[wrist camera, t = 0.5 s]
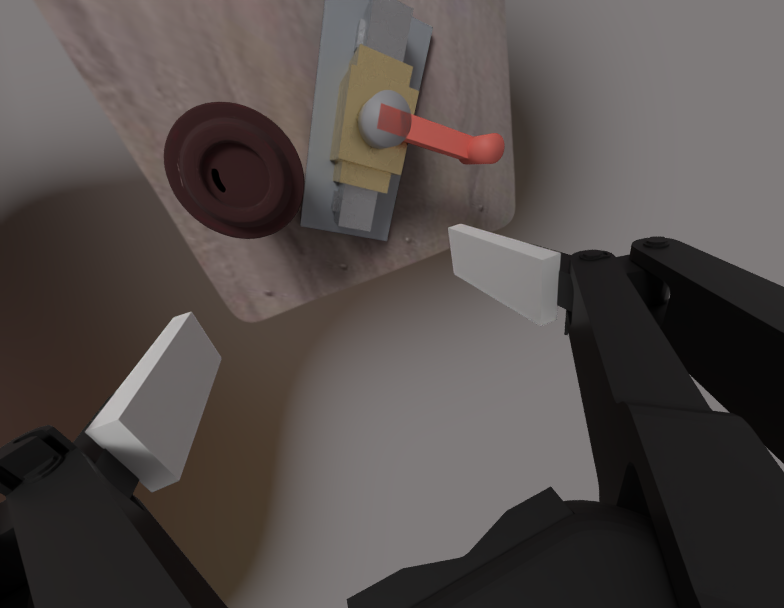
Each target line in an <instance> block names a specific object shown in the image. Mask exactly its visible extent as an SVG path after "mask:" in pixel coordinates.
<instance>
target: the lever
mask: <svg viewBox="0 0 784 608" xmlns="http://www.w3.org/2000/svg"><path fill="white" fill-rule="evenodd" d="M358 128H359V131H360V134H361V136H362V138H363V140H364V141H365V142H366V143H367V144H368V145H370V146H371V147H373V148H376V149H384V148H389V147H393V146H397V145H399V144H400V143H402V142H403V141H404V142H407V143H410V144H413V145H416V146H419V147H423V148H426V149H429V150H432V151H435V152H438V153H441V154H444V155H447V156H450V157H454V158H457V159H459V160H460V162H461V163H463V164H493V163H496V162H497V161H498V160H499V159H500V158H501V157H502V155H503V152H504V140H503V138H502V137H501V136H500V135H499V134H497V133H492V134H487V135H481V136H475V137H473V136H470V135H467V134H465V133H462V132H459V131H456V130H454V129H451V128H448V127H445V126H443V125H440V124H437V123H434V122H432V121H429V120H426V119H423V118H421V117H418V116H415V115H413V114H411V111H410V108H409V105H408V103H407V102H406V100H405V99H404V98H403V97H402V96H401V95H400V94H399V93H397V92H395V91H392V90H383V91H380V92H378V93H377V94H375V95H374V96H373V97H372V98H371V99H369V100H368V101H367V102H366V103H365V104H364V105H363V106H362V108H361V110H360V113H359V116H358Z"/></svg>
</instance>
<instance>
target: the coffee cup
mask: <svg viewBox="0 0 784 608" xmlns="http://www.w3.org/2000/svg"><path fill="white" fill-rule="evenodd" d="M164 165H165V171H166V175H167V178H168V181H169V184H170V186H171V188H172V190H173V192H174V194H175V196H176V197H177V199H178V200H179V202H180V203H181V204H182V206H183V207H184V208H185V209H186V210H187V211H188V212H189V213H190V214H191V215H192V216H193V217H194V218H195V219H196V220H198V221H199V222H200V223H202V224H203V225H205V226H206V227H208V228H210V229H212V230H214V231H216V232H218V233H221V234H223V235H227V236H230V237H235V238H242V239H254V238H261V237H265V236H268V235H271V234H273V233H276V232H277V231H279V230H281V229H282V228H283V227H285V226H286V225H287V224H288V223H289V222H290V221H291V220H292V219H293V218H294V216H295V215H296V213H297V212H298V210H299V207H300V205H301V202H302V199H303V194H304V173H303V168H302V164H301V161H300V158H299V156H298V153H297V151H296V149H295V147H294V146H293V144H292V143H291V141H290V140H289V138H288V137H287V136H286V135H285V133H284V132H283V131H282V130H281V129H280V128H279V127H278V126H277V125H276V124H275V123H274V122H273V121H271V120H270V119H269V118H267V117H266V116H264V115H263V114H261V113H259V112H258V111H256V110H253V109H251V108H249V107H246V106H243V105H240V104H236V103H230V102H211V103H205V104H202V105H199V106H196V107H194V108H192V109H190V110H188V111H187V112H186V113H184V114H183V115H182V116H181V117H180V118H179V119H178V120H177V121H176V122H175V124H174V125H173V127H172V128H171V130H170V132H169V134H168V137H167V140H166V143H165V148H164Z"/></svg>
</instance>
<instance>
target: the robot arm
mask: <svg viewBox="0 0 784 608" xmlns="http://www.w3.org/2000/svg"><path fill="white" fill-rule="evenodd" d="M448 232H449V240H450V247H451V255H452V262H453V270H454V274H455V275H456V276H458V277H460V278H461V279H463V280H465V281H466V282H468V283H470V284H471V285H473V286H475V287H476V288H478V289H480V290H481V291H483V292H485V293H486V294H488V295H489V296H491V297H493V298H494V299H496V300H498V301H500V302H501V303H503V304H504V305H506V306H508V307H509V308H511V309H513V310H514V311H516V312H518V313H519V314H521V315H523V316H524V317H526V318H528V319H529V320H531V321H533V322H534V323H536V324H538V325H539V326H543V325H545V324H548V323H550V322H552V321H555V320H557V311H558V306H560V307H562V308H564V309H566V321H565V335H568V333H569V338H570V343H571V348H572V353H573V357H574V363H575V367H576V373H577V377H578V383H579V387H580V393H581V398H582V403H583V407H584V413H585V417H586V423H587V428H588V432H589V437H590V443H591V448H592V453H593V458H594V463H595V467H596V472H597V477H598V484H599V502H596V501H585V500H572V501H571V500H570V501H563V500H562V499H561V498H560V497H559V496H558V494H557V493H556V492H555V491H554V490H553V488H552V487H549V488H547V489H546V490H544V491H542V492H540V493H539V494H537V495H535V496H533V497H531V498H529V499H527V500H526V501H524V502H522V503H520V504H518V505H517V506H515V507H513V508H511V509H509V510H507V511H506V512H505V513H504V514H503V515H502V516H501V518H500V519H499V520H498V521H497V522H496V523H495V524H494V525H493V526H492V528H491V529H490V530H489V531H488V532H487V533H486V534H485V535H484V536H483V537H482V538H481V540H480V541H479V542H478V543H477V544H476V545H475V546H474V547H473V548H472V549H471V550H470V552H469V553H467V554H466V555H465V556H463V557H460V558H456V559H451V560H445V561H440V562H435V563H430V564H424V565H419V566H413V567H408V568H403V569H401V570H399V571H397V572H396V573H394V574H392V575H390V576H388V577H386V578H385V579H383V580H381V581H379V582H377V583H376V584H374V585H372V586H370V587H368V588H367V589H365V590H363V591H361V592H359V593H357V594H356V595H354V596H352V597H350V598H348V599H347V604H348V608H784V472H783V471H782V469H781V468H780V466H779V465H778V464H777V462H776V461H775V459H774V458H773V457H772V455H771V454H770V453H769V451H768V450H767V448H768V449H769V450H770V451H771V452H772V453H773V454H774V455H775V456H776V457H777V458H778V459H779V460H781V462H782V463H784V287H783V286H780V285H778V284H776V283H773V282H771V281H769V280H767V279H764V278H762V277H760V276H758V275H755V274H753V273H751V272H748V271H746V270H744V269H741V268H739V267H737V266H735V265H733V264H730V263H728V262H726V261H723V260H721V259H719V258H717V257H714V256H712V255H710V254H708V253H705V252H703V251H701V250H698V249H696V248H694V247H692V246H689V245H687V244H685V243H682V242H680V241H677V240H674V239H670V238H665V237H650V238H644V239H639V240H636V241H634V242H633V243H632V245H631V251H630V255H625V256H620V257H615V256H614V255H613V254H612V253H610V252H607V251H600V250H585V251H579V252H576V253H574V254H572V255H568V254H565V253H562V252H558V251H555V250H549V249H548V248H544V247H541V246H538V245H534V244H528V243H524V242H521V241H518V240H515V239H511V238H508V237H504V236H501V235H498V234H494V233H491V232H487V231H484V230H481V229H477V228H474V227H470V226H467V225H463V224H458V225H455V226H452V227H449V228H448ZM669 295H670V298H669ZM221 359H222V358H221V357H220V355H219V353H218V352H217V350H216V349H215V347H214V346H213V344H212V342H211V341H210V339H209V338H208V336H207V335H206V333H205V332H204V330H203V329H202V327H201V325H200V324H199V322H198V321H197V319H196V318H195V316H194V315H193V313H192V312H189V313H186V314H183V315H180V316H177V317H174V318H173V319H172V320H171V322H170V323H169V324H168V325H167V327H166V328H165V329H164V331H163V332H162V333H161V335H160V336H159V337H158V338H157V340H156V341H155V342H154V343H153V345H152V346H151V347H150V349H149V350H148V351H147V352H146V354H145V355H144V356H143V358H142V359H141V360H140V361H139V363H138V364H137V365H136V367H135V368H134V369H133V370H132V372H131V373H130V374H129V376H128V377H127V378H126V379H125V381H124V382H123V383H122V385H121V386H120V387H119V388H118V390H117V391H116V392H115V393H114V394H112V395H111V396H110V397H109V398H108V399H107V400H106V401H105V403H104V404H103V405H102V406H101V408H100V409H99V410H100V411H98V412H97V413H96V414H95V415H94V417H93V418H92V421H90V422H89V423H88V424H87V425H86V427H85V428H84V429H83V430H82V432H81V433H80V435H79V436H78V437H77V438H76V439H75V441H74V442H73V443H72V442H71V441H70V440H68V439H67V438H66V437H65V436H63V435H62V434H61V433H60V432H59V431H58V430H57V429H55V428H54V427H53V426H50V425H47V426H43V427H39V428H36V429H34V430H31V431H29V432H27V433H25V434H23V435H21V436H19V437H17V438H15V439H13V440H12V441H11V442H9V443H7V444H6V445H4V446H3V447H1V448H0V493H1V494H3V495H5V496H6V500H5V501H3V502H1V503H0V608H228V607H227V606H226V605H225V604H224V602H223V601H222V600H221V599H220V597H219V596H218V595H217V594H216V592H215V591H214V590H213V589H212V588H211V586H210V585H209V584H208V583H207V581H206V580H205V579H204V578H203V577H202V575H201V574H200V573H199V572H198V571H197V569H196V568H195V567H194V566H193V564H192V563H191V562H190V561H189V559H188V558H187V557H186V556H185V555H184V553H183V552H182V551H181V550H180V548H179V547H178V546H177V545H176V544H175V543H174V541H173V540H172V539H171V537H170V536H169V535H168V534H167V533H166V531H165V530H164V529H163V528H162V526H161V525H160V524H159V523H158V522H157V520H156V519H155V518H154V517H153V515H152V514H151V513H150V512H149V511H148V509H147V508H146V507H145V506H144V505H143V503H142V502H141V501H140V500H139V499H138V498H137V497H135V496H134V495H133V492H134V490H135V488H136V486H137V484H138V481H140V482H141V483H142V484H143V485H144V486H145V487H146V488H148V489H149V490H150V491H151V492H154V491H156V490H158V489H161V488H163V487H165V486H168V485H170V484H172V483H175V482H177V481H179V479H180V477H181V473H182V471H183V468H184V465H185V462H186V459H187V456H188V453H189V451H190V448H191V445H192V442H193V439H194V436H195V434H196V431H197V428H198V425H199V422H200V419H201V416H202V413H203V411H204V407H205V405H206V402H207V399H208V396H209V393H210V390H211V388H212V385H213V382H214V379H215V376H216V373H217V370H218V367H219V364H220V362H221ZM689 374H690V375H691V376H692V377H693V378H694V379H695V380H696V381H697V382H698V383H699V384H700V385H701V386H702V387H704V389H705V390H706V391H708V392H709V393H710V394H711V395H712V396H713V397H714V398H715V399H716V400H717V401H718V402H719V403H720V404H721V405H722V406H723V407H725V408H726V409H727V410H728V411H729V412H730V413H726V412H718V411H712V409H711V408H710V407H709V405H708V404H707V402H706V401H705V399H704V397H703V396H702V394H701V393H700V391H699V389H698V388H697V386H696V385H695V383H694V381H693V380H692V378H691V377H690V375H689ZM764 445H765V446H766V447H767V448H766V447H765V446H764Z"/></svg>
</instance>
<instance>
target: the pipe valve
mask: <svg viewBox="0 0 784 608" xmlns="http://www.w3.org/2000/svg"><path fill="white" fill-rule="evenodd" d="M412 14H413V8H411V7H409V6H407V5H405V4H403V3H401V2H399V1H397V0H369V3H368V5H367V7H366V9H365V13H364V20H363V19H360V20H359V22H358V24H357V30H356V37H355V44H354V51H353V52H355V53H354V55H353V57H352V58H351V60H350V62H349V67H348V71H347V73H346V74H345V76H344V77H343V79H342V81H341V82H340V85H339V93H338V100H337V108H336V115H335V122H334V130H333V137H332V145H331V152H330V160H331V161H335V166H334V173H333V180H332V181H337V182H339V188H338V191H335V190H333V197H332V204H331V210H332V211H335V215H334V222H335V223H336V224H337V225H338V226H342V227H347V228H353V229H358V230H363V231H369V232H370V230H371V225H372V220H373V215H374V210H375V204H376V199H377V194H378V192H382V193H387V191H388V187H389V182H390V177H391V175H401V173H402V168H403V163H404V159H405V154H406V150H407V145H408V143H407V142H404V141H403V142H402V143H400V144H399V145H397V146H393V147H389V148H384V149H376V148H373V147H371V146H370V145H368V144H367V143H366V142H365V141H364V140H363V138H362V136H361V134H360V131H359V128H358V116H359V113H360V110H361V108H362V106H363V105H364V104H365V103H366V102H367V101H368V100H369V99H371V98H372V97H373V96H374V95H375V94H377V93H378V92H380V91H383V90H392V91H395V92H397V93H399V94H400V95H401V96H402V97H403V98H404V99H405V100H406V102H407V103H408V105H409V108H410V111H411V114H413V115H414V113H415V108H416V103H417V99H418V94H419V91H418V90H415V89H413V88H410V87H409V84H410V79H411V74H412V69H413V66H410V65H408V64H406V63H403V60H404V55H405V50H406V45H407V40H408V35H409V29H410V24H411V19H412Z"/></svg>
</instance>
